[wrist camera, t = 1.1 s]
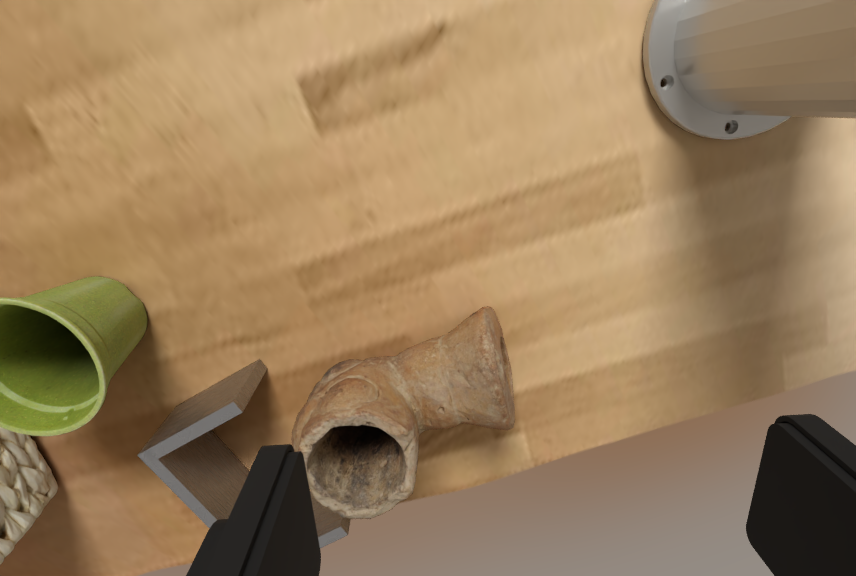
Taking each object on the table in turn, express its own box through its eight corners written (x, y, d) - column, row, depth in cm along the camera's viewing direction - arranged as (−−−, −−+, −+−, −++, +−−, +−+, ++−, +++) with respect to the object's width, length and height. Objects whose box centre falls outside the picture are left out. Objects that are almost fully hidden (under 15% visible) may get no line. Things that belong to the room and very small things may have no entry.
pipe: (522, 378, 40) (555, 461, 31) (345, 445, 42) (325, 542, 33) (483, 283, 37) (506, 343, 28) (294, 360, 39) (256, 440, 30)
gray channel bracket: (259, 358, 39) (233, 401, 33) (356, 479, 43) (347, 535, 38) (176, 406, 40) (137, 455, 35) (278, 518, 45) (258, 577, 39)
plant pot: (175, 372, 39) (112, 442, 31) (53, 363, 39) (-44, 431, 30) (166, 261, 36) (93, 307, 28) (32, 249, 35) (-82, 291, 27)
